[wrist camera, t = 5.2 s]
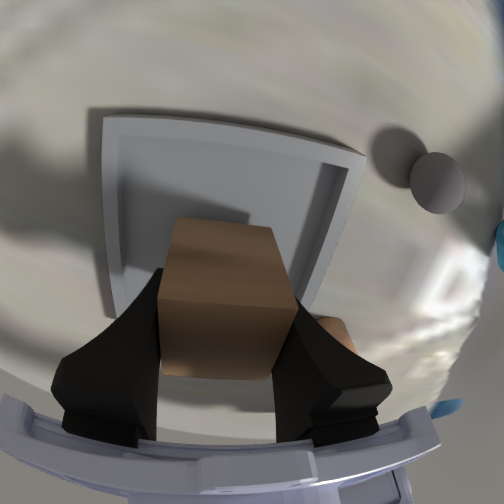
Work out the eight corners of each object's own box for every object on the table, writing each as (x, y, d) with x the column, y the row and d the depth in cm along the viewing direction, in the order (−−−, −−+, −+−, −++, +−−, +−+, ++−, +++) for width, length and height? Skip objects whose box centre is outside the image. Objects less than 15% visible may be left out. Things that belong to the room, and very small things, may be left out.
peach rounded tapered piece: (333, 348, 23) (347, 386, 19) (291, 349, 22) (301, 390, 18) (352, 316, 20) (371, 356, 17) (306, 316, 20) (321, 360, 16)
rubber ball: (428, 203, 15) (461, 230, 12) (390, 191, 15) (424, 219, 12) (446, 155, 13) (483, 175, 11) (409, 137, 13) (449, 155, 10)
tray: (286, 334, 20) (290, 350, 19) (125, 322, 18) (121, 338, 17) (354, 149, 13) (367, 157, 12) (115, 113, 11) (103, 117, 9)
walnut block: (253, 296, 16) (267, 379, 11) (173, 289, 15) (162, 374, 10) (271, 227, 14) (298, 308, 9) (177, 216, 13) (157, 297, 8)
